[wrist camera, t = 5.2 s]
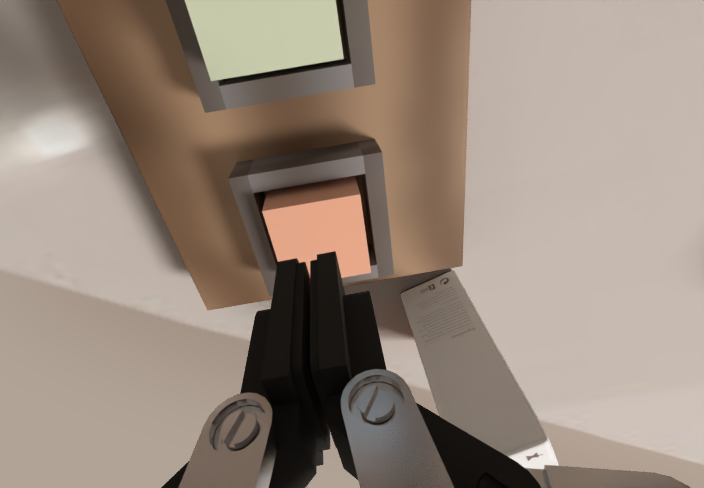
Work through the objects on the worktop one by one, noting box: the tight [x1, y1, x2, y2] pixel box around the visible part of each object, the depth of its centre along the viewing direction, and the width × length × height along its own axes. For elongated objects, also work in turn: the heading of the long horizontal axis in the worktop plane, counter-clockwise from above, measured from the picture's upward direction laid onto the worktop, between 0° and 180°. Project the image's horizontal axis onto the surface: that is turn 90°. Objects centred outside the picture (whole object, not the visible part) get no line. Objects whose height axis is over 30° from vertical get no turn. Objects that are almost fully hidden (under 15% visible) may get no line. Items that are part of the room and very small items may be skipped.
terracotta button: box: [262, 176, 371, 278], centre depth 16 cm, size 4×4×3 cm
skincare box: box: [401, 271, 559, 469], centre depth 21 cm, size 6×4×12 cm
